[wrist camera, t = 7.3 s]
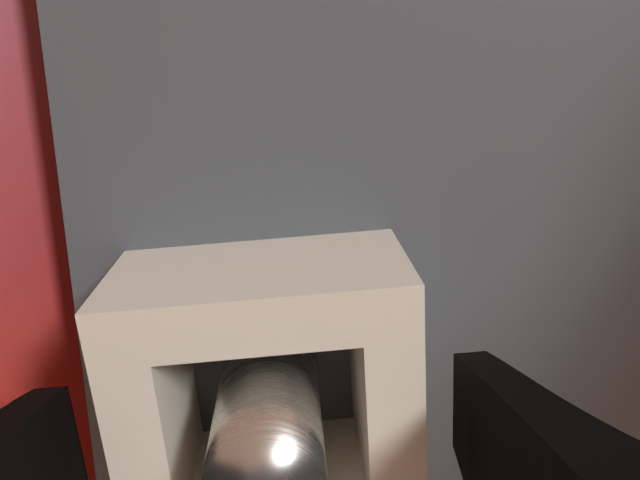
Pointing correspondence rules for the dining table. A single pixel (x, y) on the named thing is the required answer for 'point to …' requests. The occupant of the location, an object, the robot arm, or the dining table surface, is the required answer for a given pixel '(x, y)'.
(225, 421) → the piston
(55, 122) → the board
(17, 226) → the dining table surface
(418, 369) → the ring
